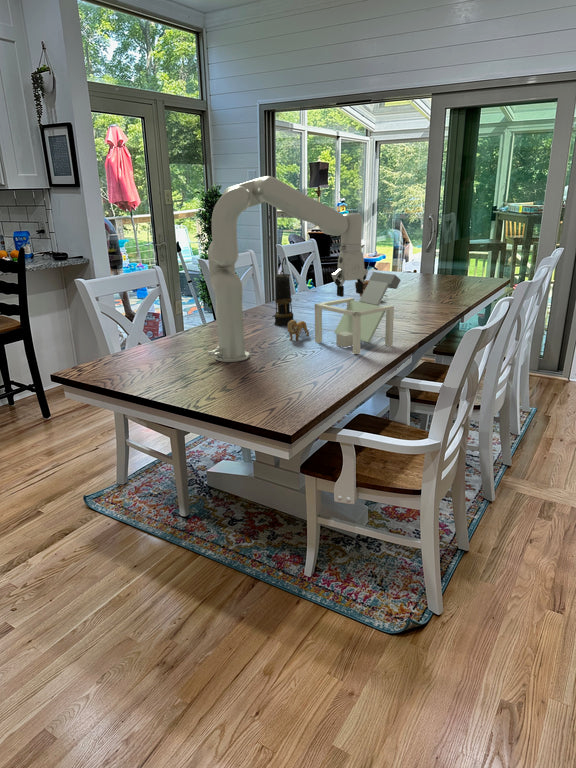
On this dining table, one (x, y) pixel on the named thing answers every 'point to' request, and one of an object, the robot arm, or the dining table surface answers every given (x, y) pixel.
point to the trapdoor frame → (356, 321)
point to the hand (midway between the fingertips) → (349, 294)
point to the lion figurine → (296, 328)
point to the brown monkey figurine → (364, 287)
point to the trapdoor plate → (369, 305)
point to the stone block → (344, 339)
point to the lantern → (283, 299)
